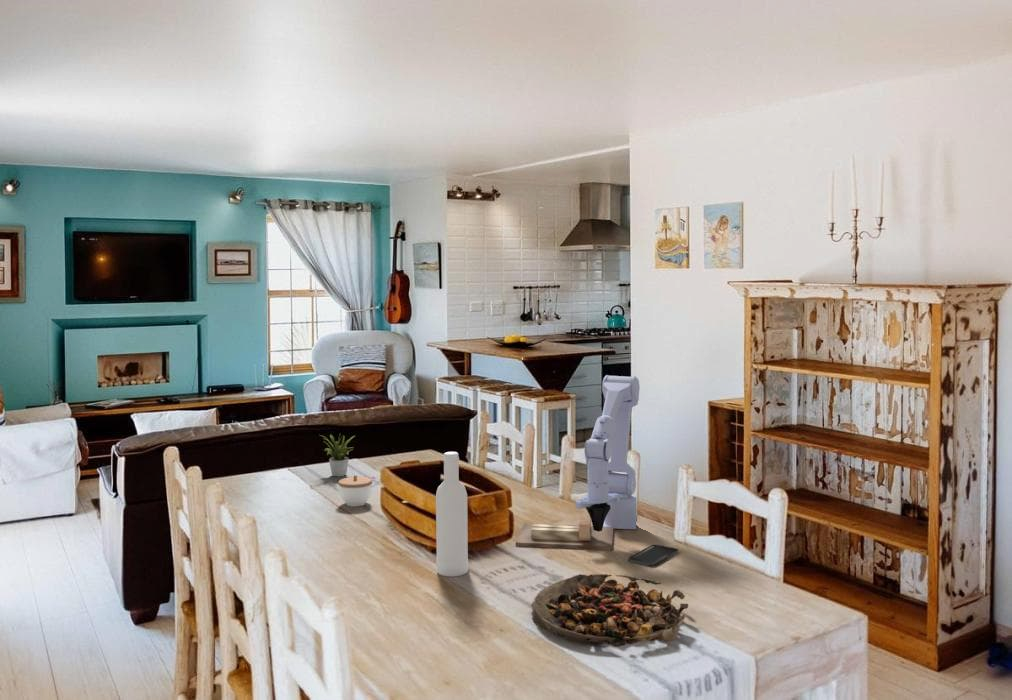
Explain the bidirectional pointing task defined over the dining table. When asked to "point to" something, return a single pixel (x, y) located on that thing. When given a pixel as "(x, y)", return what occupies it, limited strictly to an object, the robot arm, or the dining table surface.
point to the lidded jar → (355, 490)
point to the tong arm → (554, 526)
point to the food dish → (607, 611)
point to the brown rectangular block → (584, 529)
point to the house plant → (338, 456)
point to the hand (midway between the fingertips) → (597, 530)
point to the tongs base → (594, 544)
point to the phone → (653, 555)
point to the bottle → (451, 521)
